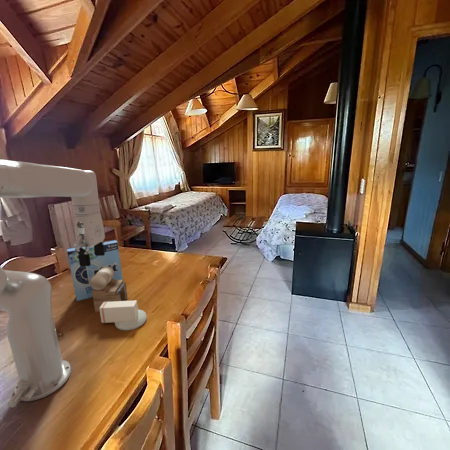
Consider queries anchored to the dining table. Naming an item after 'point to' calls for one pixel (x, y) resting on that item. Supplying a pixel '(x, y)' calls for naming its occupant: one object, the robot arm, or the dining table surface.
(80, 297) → the gum box
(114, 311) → the white box
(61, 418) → the dining table surface
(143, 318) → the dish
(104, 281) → the dispenser
